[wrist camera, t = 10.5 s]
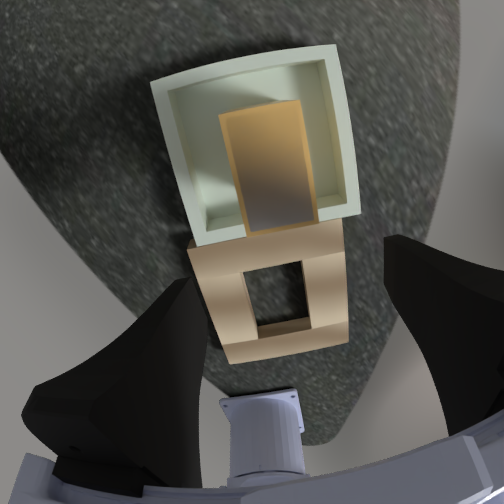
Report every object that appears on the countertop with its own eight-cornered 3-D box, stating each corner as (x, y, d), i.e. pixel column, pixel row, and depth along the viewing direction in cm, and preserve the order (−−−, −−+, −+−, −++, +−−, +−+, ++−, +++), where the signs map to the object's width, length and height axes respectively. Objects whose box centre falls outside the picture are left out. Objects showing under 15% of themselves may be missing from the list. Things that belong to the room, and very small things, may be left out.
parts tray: (348, 200, 20) (361, 213, 18) (202, 230, 21) (197, 246, 18) (324, 50, 15) (335, 44, 13) (161, 84, 16) (149, 82, 14)
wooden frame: (344, 330, 25) (348, 342, 24) (230, 351, 26) (229, 364, 25) (335, 209, 20) (341, 218, 19) (190, 239, 21) (186, 249, 20)
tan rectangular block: (294, 180, 19) (319, 223, 12) (246, 189, 19) (246, 237, 13) (279, 100, 16) (299, 99, 10) (228, 110, 17) (218, 115, 10)
